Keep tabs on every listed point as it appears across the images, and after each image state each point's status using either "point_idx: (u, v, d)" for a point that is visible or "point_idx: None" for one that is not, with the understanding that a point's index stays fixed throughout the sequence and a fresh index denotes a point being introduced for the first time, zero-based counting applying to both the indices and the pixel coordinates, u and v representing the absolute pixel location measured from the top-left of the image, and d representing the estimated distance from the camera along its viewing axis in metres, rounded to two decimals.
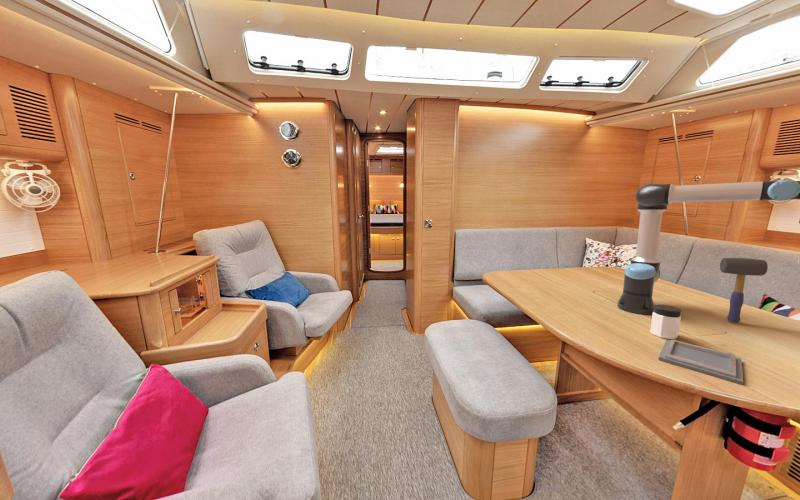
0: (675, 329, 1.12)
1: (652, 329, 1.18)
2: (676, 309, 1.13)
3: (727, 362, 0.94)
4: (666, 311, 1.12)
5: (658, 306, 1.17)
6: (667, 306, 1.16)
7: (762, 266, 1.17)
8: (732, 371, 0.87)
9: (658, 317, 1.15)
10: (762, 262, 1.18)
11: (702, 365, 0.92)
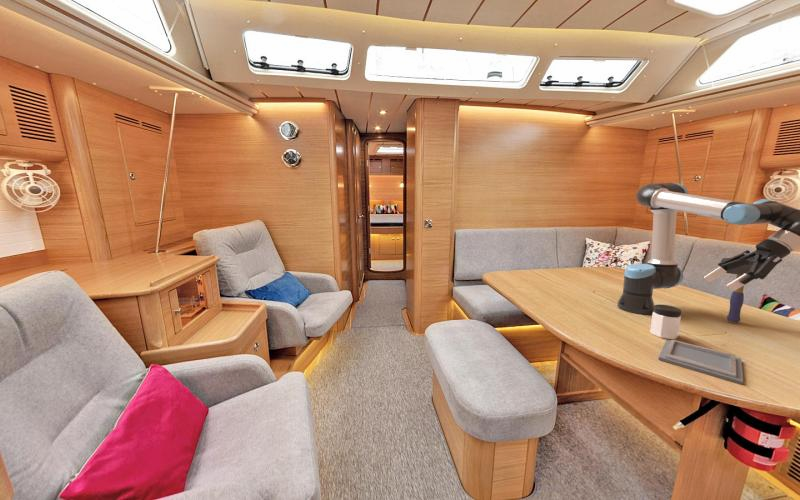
0: (675, 329, 1.12)
1: (652, 329, 1.18)
2: (676, 309, 1.13)
3: (727, 362, 0.94)
4: (666, 311, 1.12)
5: (658, 306, 1.17)
6: (667, 306, 1.16)
7: None
8: (732, 371, 0.87)
9: (658, 317, 1.15)
10: None
11: (702, 365, 0.92)
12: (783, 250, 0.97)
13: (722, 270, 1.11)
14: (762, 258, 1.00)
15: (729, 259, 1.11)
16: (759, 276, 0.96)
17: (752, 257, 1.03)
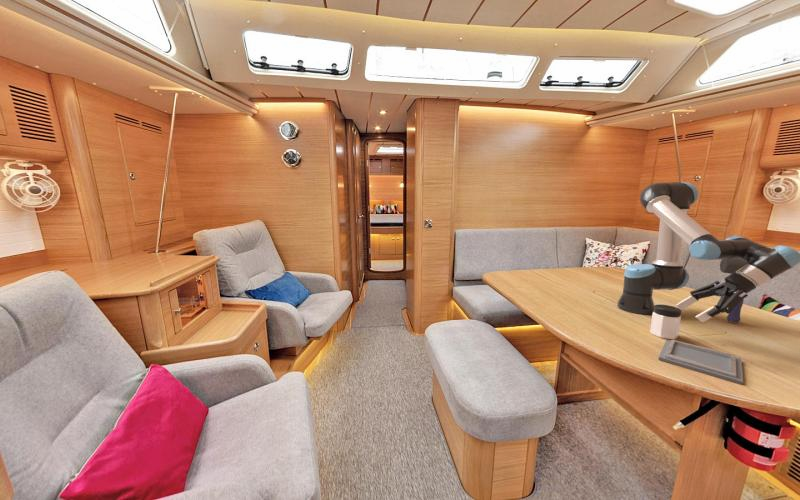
0: (675, 329, 1.12)
1: (652, 329, 1.18)
2: (676, 309, 1.13)
3: (727, 362, 0.94)
4: (666, 311, 1.12)
5: (658, 306, 1.17)
6: (667, 306, 1.16)
7: None
8: (732, 371, 0.87)
9: (658, 317, 1.15)
10: None
11: (702, 365, 0.92)
12: (749, 285, 1.01)
13: (693, 299, 1.15)
14: (729, 292, 1.03)
15: (700, 288, 1.15)
16: (725, 310, 1.00)
17: (721, 289, 1.07)
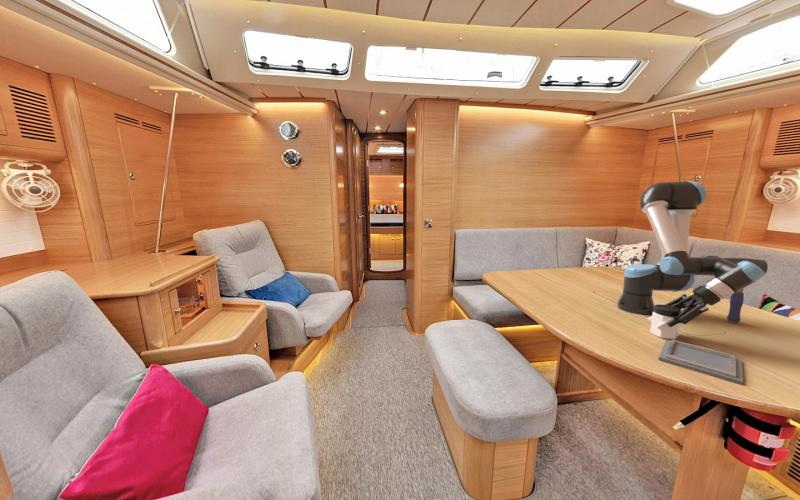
0: (675, 329, 1.12)
1: (652, 329, 1.18)
2: (676, 309, 1.13)
3: (727, 362, 0.94)
4: (666, 311, 1.12)
5: (658, 306, 1.17)
6: (667, 306, 1.16)
7: (762, 266, 1.17)
8: (732, 371, 0.87)
9: (658, 317, 1.15)
10: (762, 262, 1.18)
11: (702, 365, 0.92)
12: (713, 298, 1.06)
13: None
14: (696, 304, 1.09)
15: (670, 302, 1.19)
16: (682, 321, 1.08)
17: (689, 301, 1.12)
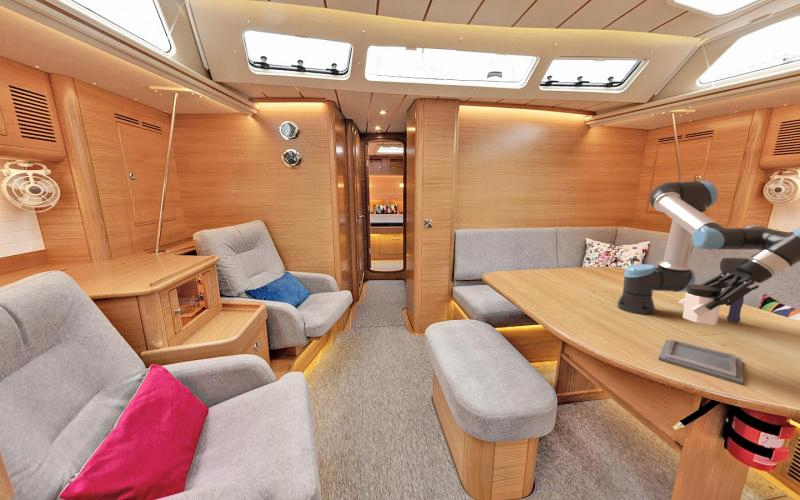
0: (715, 312, 0.93)
1: (685, 313, 0.99)
2: (715, 288, 0.94)
3: (727, 362, 0.94)
4: (704, 291, 0.94)
5: (692, 286, 0.98)
6: (703, 286, 0.98)
7: None
8: (732, 371, 0.87)
9: (693, 298, 0.96)
10: None
11: (702, 365, 0.92)
12: (764, 273, 0.87)
13: None
14: (741, 281, 0.90)
15: (706, 282, 1.01)
16: (725, 302, 0.89)
17: (731, 279, 0.94)
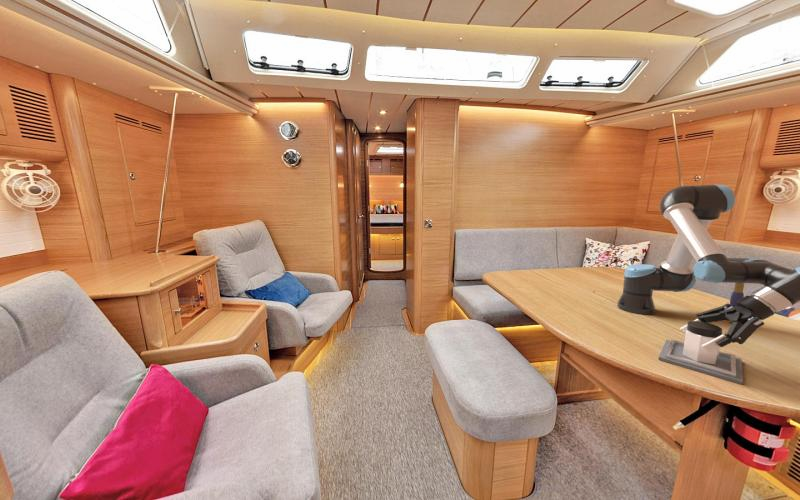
0: (715, 352, 0.93)
1: (686, 351, 0.98)
2: (716, 327, 0.94)
3: (727, 362, 0.94)
4: (705, 330, 0.93)
5: (693, 323, 0.97)
6: (703, 323, 0.97)
7: None
8: (732, 371, 0.87)
9: (694, 337, 0.96)
10: None
11: (702, 365, 0.92)
12: (766, 311, 0.86)
13: None
14: (743, 318, 0.89)
15: (708, 311, 1.01)
16: (737, 341, 0.85)
17: (732, 314, 0.93)
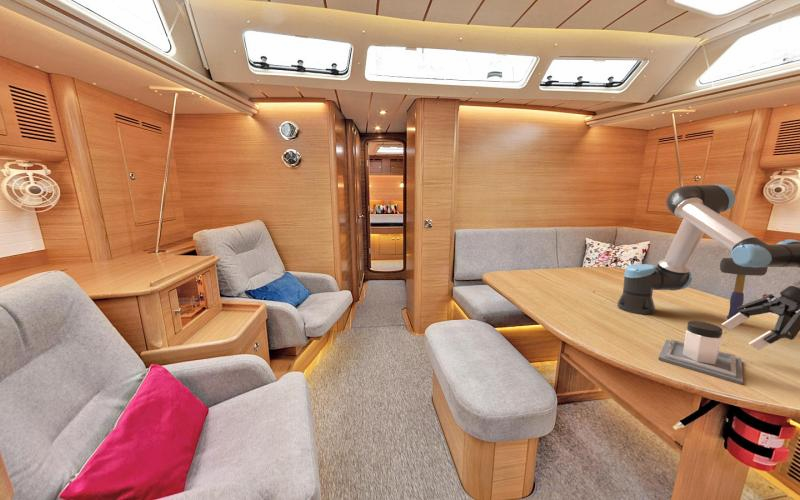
0: (715, 352, 0.93)
1: (686, 351, 0.98)
2: (716, 327, 0.94)
3: (727, 362, 0.94)
4: (705, 330, 0.93)
5: (693, 323, 0.97)
6: (704, 323, 0.97)
7: None
8: (732, 371, 0.87)
9: (694, 337, 0.96)
10: None
11: (702, 365, 0.92)
12: None
13: (743, 316, 0.98)
14: (789, 310, 0.86)
15: (750, 303, 0.97)
16: (787, 336, 0.83)
17: (777, 306, 0.89)
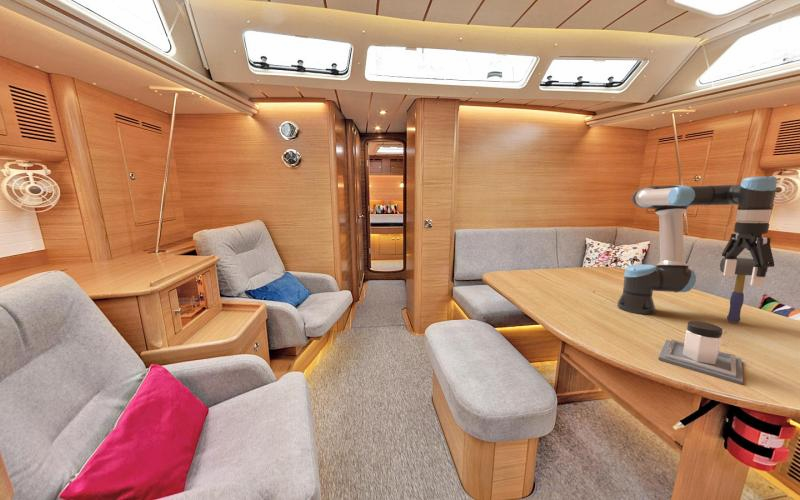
0: (716, 352, 0.93)
1: (686, 351, 0.98)
2: (716, 327, 0.94)
3: (727, 362, 0.94)
4: (705, 330, 0.93)
5: (693, 323, 0.97)
6: (704, 323, 0.97)
7: None
8: (732, 371, 0.87)
9: (694, 337, 0.96)
10: None
11: (702, 365, 0.92)
12: (760, 227, 0.94)
13: (731, 261, 1.05)
14: (752, 243, 0.95)
15: (726, 248, 1.06)
16: (768, 266, 0.90)
17: (743, 243, 0.99)
